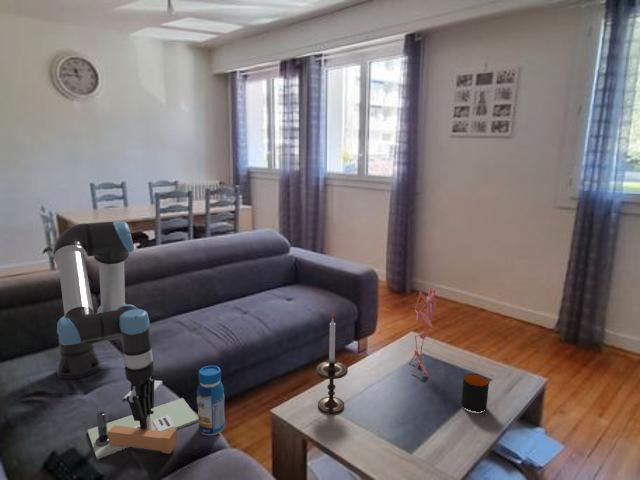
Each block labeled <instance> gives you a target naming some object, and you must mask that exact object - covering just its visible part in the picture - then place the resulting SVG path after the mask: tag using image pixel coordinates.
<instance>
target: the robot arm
mask: <svg viewBox="0 0 640 480" xmlns="http://www.w3.org/2000/svg"><path fill="white" fill-rule="evenodd" d="M131 253H134V243H133V238H132V234H131V230H130V226H129V224H128V223H127V222H126V221H122V220H121V221H115V220H114V221H108V222H107V221H106V222H91V223H78V224H75V225H71V227H68V228H67V229H66V230H65V231H63V232H62V234H60V236H59V237H58V238H57V240H56V241H55V244H54V246H53V260H54V262H55V263H56V264H57V266H58V272H59V280H60V288H61V296H62V304H63V314H64V315H63V316H62V317H60V319H59V320H58V321H57V325H56V326H57V329H56V334H57V335H58V345H59V354H60V356H59V360H58V364H57V368H56V375H57V377H58V378H59V379H62V380H79V379H82V378H86V377H89V376H91V375H93V374H95V373H96V372H98V371H99V369H101V359H100V358H99V356H98V354H97V352H96V350H95V346H94V344H97V343H101V342H106V341H113V340H117V339H120V340H121V343H122V355H123V361H124V366H125V367H124V372H125V378H126V380H127V381H128V382H130V391H132V392H131V395H130V396H127V398H126V400H125V401H127V402H128V404H129V407H130V411H131V415H133V418H134V421H140V429H148V430H152V428H151V418H150V414H153V413H154V411H151V409H153V408H154V407H155V392H154V382H155V380H156V374H155V368H154V361H153V360H154V357H153V349H152V341H151V340H152V339H151V330H150V325H151V324H150V323H151V321H150V319H149V314H148V311H146V309H145V310H144V309H140V308H138V307H136V306H135V305H133V304H130V303H129V304H127V303H126V297H125V296H126V295H125V294H126V289H125V287H126V286H125V285H126V284H125V283H126V281H125V279H126V278H125V262H126V261H127V260H128V258H129V254H131ZM89 257H93V258H94V260H95V261H96V262H97V263H98V273H99V275H98V276H99V288H100V290H99V291H100V293H99V294H100V306H99V307H98V309H97V312H96V313H94V311H95V310H94V305H93V299H92V294H91V289H90V282H89V278H88V271H87V265H86V261H87V259H88V258H89Z"/></svg>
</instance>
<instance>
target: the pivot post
mask: <svg viewBox="0 0 640 480" xmlns="http://www.w3.org/2000/svg"><path fill="white" fill-rule="evenodd" d="M96 423H97V426H98V434H99V438H97V439H96V445H97V446H105V445H108V444H109V439H108V431H107V423H108V422H107V414H106V412H105V411H101V412H98V413H97V414H96Z"/></svg>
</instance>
